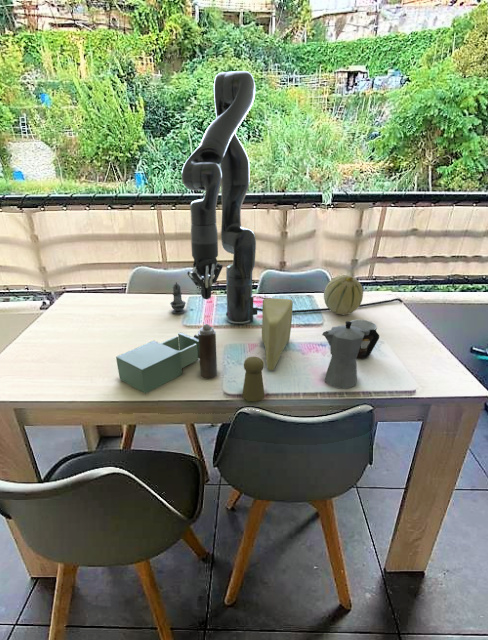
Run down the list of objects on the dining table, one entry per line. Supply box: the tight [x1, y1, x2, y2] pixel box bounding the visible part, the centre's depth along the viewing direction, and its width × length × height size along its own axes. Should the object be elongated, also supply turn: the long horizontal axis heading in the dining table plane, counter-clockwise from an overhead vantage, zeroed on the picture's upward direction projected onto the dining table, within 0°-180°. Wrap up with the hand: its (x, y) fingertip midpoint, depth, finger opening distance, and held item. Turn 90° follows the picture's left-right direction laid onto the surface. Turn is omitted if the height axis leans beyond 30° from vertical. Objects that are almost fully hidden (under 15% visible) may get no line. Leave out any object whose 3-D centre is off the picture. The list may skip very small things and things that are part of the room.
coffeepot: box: [321, 320, 380, 389], centre depth 114 cm, size 15×9×18 cm, turn 92°
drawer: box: [160, 332, 200, 369], centre depth 126 cm, size 17×10×6 cm, turn 140°
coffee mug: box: [350, 319, 378, 360], centre depth 130 cm, size 12×9×10 cm
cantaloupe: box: [323, 274, 364, 316], centre depth 158 cm, size 15×15×15 cm
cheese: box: [261, 297, 294, 371], centre depth 128 cm, size 22×10×15 cm, turn 172°
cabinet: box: [115, 340, 183, 394], centre depth 118 cm, size 13×11×7 cm
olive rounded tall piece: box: [241, 356, 265, 403], centre depth 109 cm, size 6×6×11 cm
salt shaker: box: [169, 281, 186, 315], centre depth 159 cm, size 6×6×12 cm
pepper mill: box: [197, 323, 218, 380], centre depth 117 cm, size 5×5×16 cm
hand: (206, 298), depth 127 cm, fingers closed
